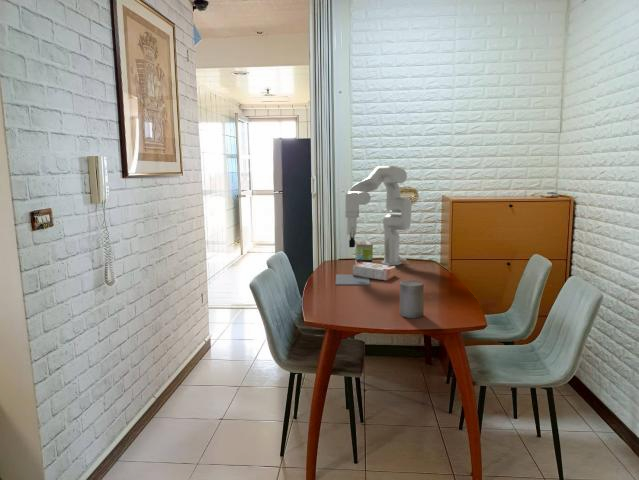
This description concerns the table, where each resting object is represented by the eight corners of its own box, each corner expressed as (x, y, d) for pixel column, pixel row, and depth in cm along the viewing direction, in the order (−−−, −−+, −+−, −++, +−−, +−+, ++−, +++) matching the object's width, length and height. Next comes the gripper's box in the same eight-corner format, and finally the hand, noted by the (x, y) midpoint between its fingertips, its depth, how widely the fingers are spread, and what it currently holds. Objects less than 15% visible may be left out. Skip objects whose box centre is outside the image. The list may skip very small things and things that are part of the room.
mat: (367, 275, 266) (367, 274, 266) (370, 285, 244) (370, 284, 244) (336, 275, 267) (336, 274, 267) (335, 285, 245) (335, 284, 245)
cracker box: (362, 260, 274) (396, 266, 264) (361, 270, 275) (395, 276, 265) (352, 264, 262) (387, 270, 252) (351, 275, 263) (386, 281, 253)
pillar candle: (420, 311, 199) (420, 276, 196) (426, 318, 189) (426, 281, 187) (397, 311, 198) (397, 277, 196) (402, 318, 189) (402, 282, 187)
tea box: (372, 267, 288) (373, 244, 285) (356, 268, 288) (356, 244, 286) (370, 263, 303) (370, 240, 300) (355, 263, 303) (355, 240, 301)
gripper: (345, 213, 268) (345, 245, 271) (345, 215, 254) (345, 249, 256) (358, 213, 268) (358, 245, 271) (359, 215, 253) (359, 249, 256)
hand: (352, 247), depth 264 cm, fingers closed
